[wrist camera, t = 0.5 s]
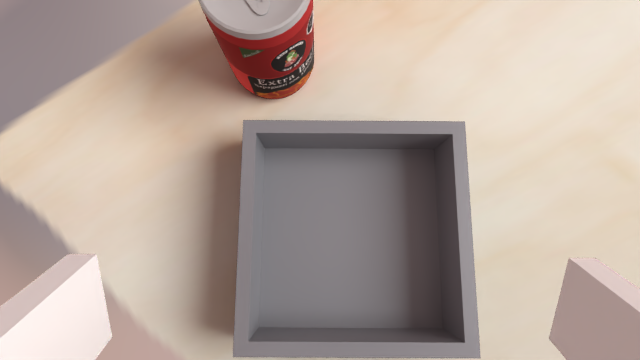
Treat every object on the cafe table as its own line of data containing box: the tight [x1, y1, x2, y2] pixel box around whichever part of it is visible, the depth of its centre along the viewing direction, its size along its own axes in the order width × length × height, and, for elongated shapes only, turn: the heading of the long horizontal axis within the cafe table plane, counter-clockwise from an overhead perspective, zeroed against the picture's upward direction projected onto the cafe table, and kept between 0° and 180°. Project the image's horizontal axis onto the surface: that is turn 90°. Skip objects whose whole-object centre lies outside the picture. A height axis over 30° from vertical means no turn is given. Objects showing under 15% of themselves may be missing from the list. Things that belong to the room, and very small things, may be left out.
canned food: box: [199, 0, 314, 99], centre depth 29 cm, size 8×8×11 cm
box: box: [233, 120, 480, 358], centre depth 29 cm, size 17×17×5 cm
